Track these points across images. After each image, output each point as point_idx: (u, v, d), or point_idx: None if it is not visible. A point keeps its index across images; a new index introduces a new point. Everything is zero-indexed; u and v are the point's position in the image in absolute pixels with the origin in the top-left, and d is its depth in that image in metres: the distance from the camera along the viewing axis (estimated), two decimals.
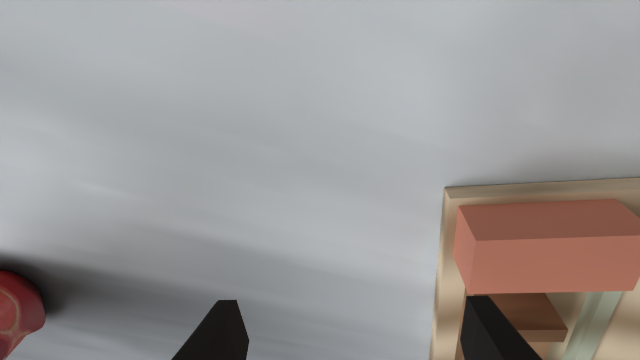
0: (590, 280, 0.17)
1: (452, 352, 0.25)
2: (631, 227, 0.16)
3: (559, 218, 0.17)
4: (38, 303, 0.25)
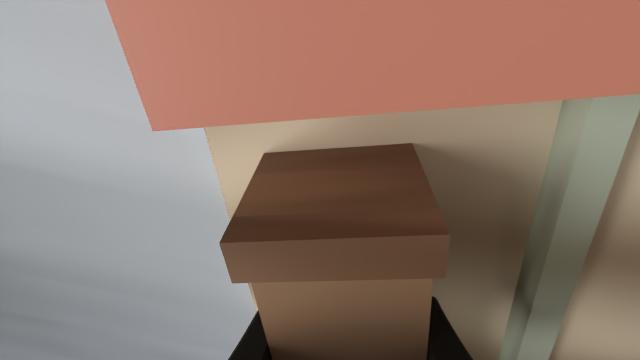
0: (507, 53, 0.05)
1: None
2: None
3: None
4: None
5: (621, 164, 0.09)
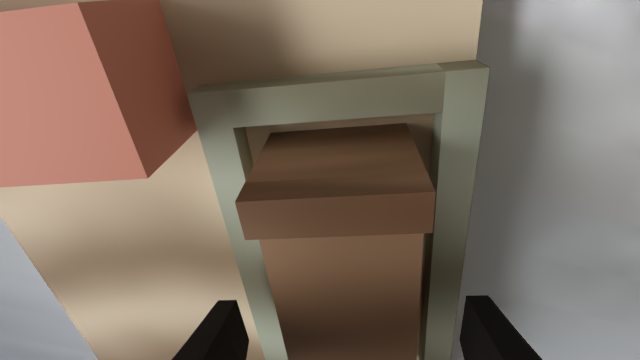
0: (44, 154, 0.08)
1: (105, 333, 0.16)
2: None
3: None
4: None
5: None
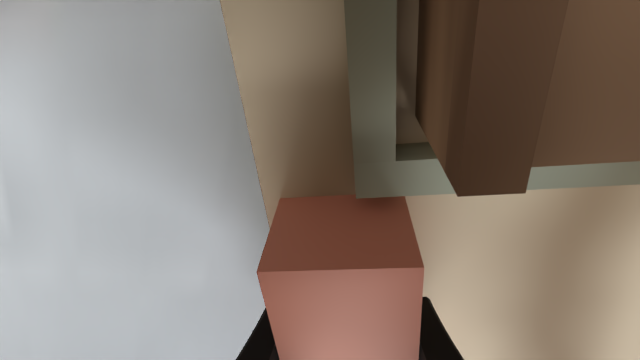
0: (387, 335, 0.08)
1: None
2: None
3: None
4: None
5: None
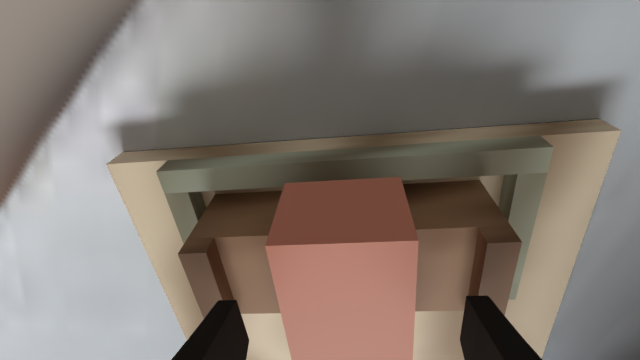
0: (385, 307, 0.09)
1: None
2: None
3: None
4: None
5: None
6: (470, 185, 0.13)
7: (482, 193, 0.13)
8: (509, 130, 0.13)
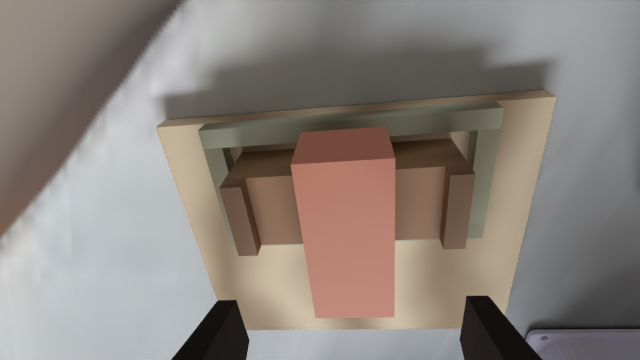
0: (373, 212, 0.13)
1: (408, 316, 0.24)
2: None
3: None
4: None
5: None
6: (443, 141, 0.17)
7: (451, 146, 0.16)
8: (473, 98, 0.17)
